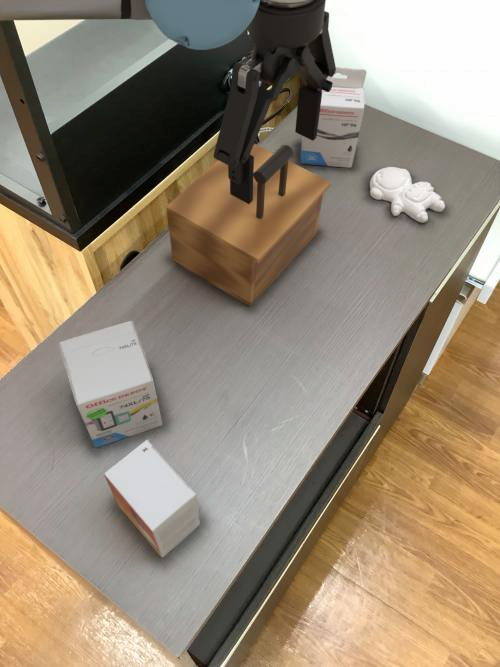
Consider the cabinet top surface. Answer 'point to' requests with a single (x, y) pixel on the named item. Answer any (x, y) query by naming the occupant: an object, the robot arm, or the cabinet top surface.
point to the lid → (262, 213)
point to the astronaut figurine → (405, 193)
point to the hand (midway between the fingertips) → (274, 165)
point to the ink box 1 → (111, 383)
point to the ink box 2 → (337, 122)
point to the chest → (239, 256)
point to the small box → (154, 497)
